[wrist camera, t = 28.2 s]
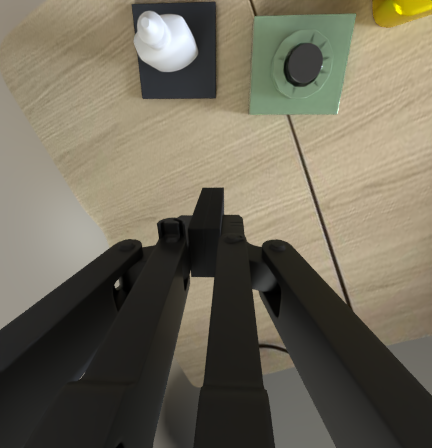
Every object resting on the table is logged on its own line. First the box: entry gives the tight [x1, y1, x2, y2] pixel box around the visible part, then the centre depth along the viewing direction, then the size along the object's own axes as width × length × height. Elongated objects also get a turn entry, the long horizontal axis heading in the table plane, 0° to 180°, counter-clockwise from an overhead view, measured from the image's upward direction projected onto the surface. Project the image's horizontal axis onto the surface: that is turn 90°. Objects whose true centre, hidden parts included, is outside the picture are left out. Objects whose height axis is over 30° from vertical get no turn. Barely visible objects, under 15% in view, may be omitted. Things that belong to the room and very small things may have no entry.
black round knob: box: [285, 43, 323, 84], centre depth 27 cm, size 4×4×2 cm
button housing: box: [248, 13, 356, 115], centre depth 29 cm, size 11×10×4 cm
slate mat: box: [132, 2, 216, 99], centre depth 31 cm, size 10×10×1 cm
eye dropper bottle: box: [134, 11, 198, 72], centre depth 25 cm, size 4×6×12 cm
